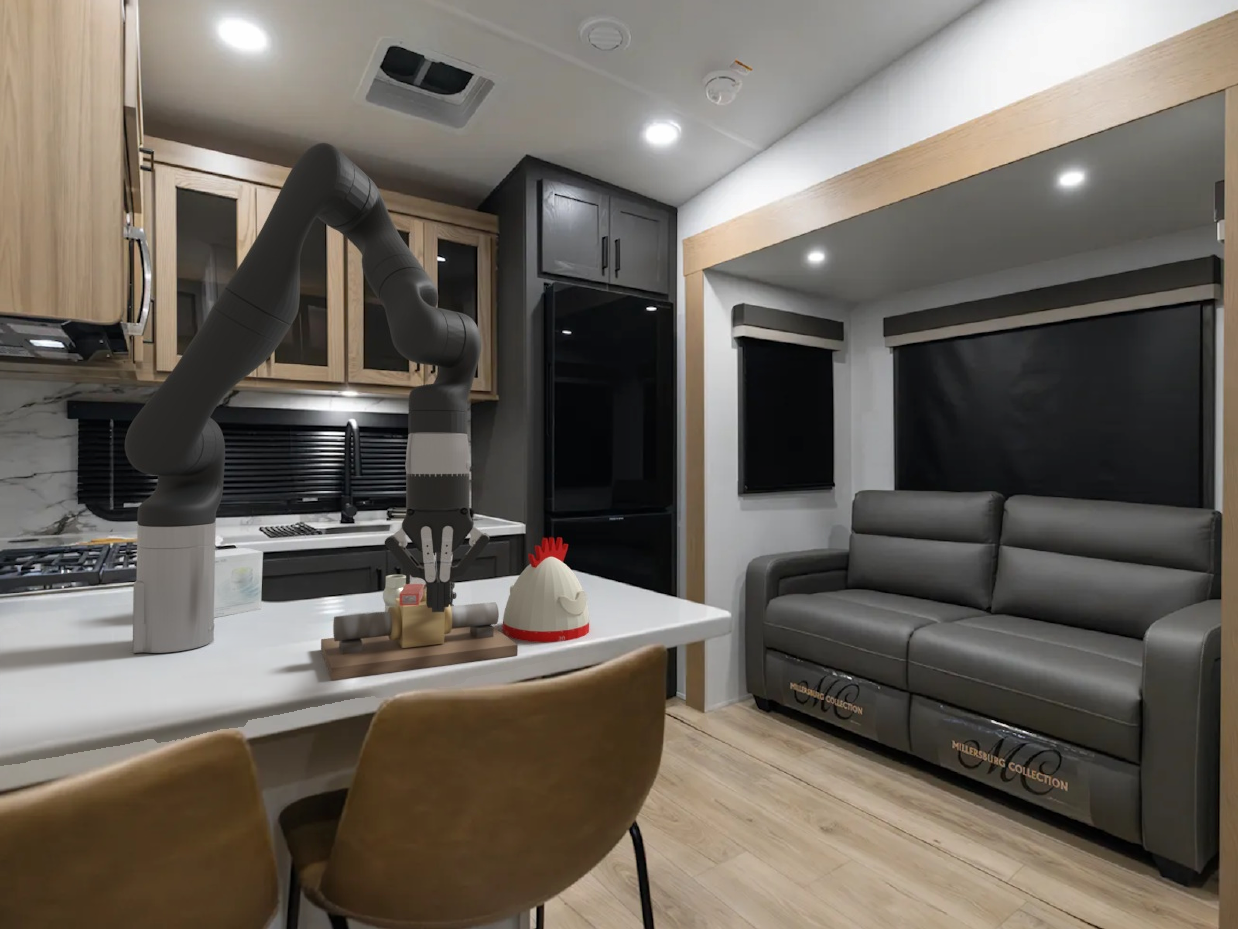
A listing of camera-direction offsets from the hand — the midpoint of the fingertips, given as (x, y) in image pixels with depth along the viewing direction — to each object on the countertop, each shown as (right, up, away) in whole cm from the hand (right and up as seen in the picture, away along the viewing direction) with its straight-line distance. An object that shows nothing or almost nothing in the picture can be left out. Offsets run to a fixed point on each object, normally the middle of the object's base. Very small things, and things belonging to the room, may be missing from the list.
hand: (438, 610), depth 81 cm
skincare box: (-46, -8, +31) cm, 56 cm away
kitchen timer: (+11, -9, +25) cm, 28 cm away
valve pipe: (-6, -8, +11) cm, 15 cm away
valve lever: (-4, +1, +5) cm, 7 cm away
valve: (-13, -8, +32) cm, 36 cm away
